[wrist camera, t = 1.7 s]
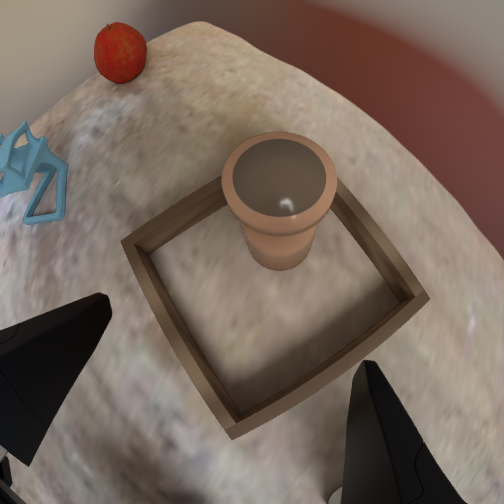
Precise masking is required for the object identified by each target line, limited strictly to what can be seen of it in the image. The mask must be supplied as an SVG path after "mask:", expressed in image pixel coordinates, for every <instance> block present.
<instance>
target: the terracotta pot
mask: <svg viewBox="0 0 504 504" xmlns="http://www.w3.org/2000/svg"><path fill="white" fill-rule="evenodd" d="M221 180H222V188H223V192H224V195H225V198H226V201H227V203H228V206H229V208H230V210H231V212H232V213H233V214H234V216H235V217H236V218H237V219H238V220H239V221H240V222H241V225H242V228H243V231H244V235H245V238H246V241H247V244H248V247H249V250H250V253H251V255H252V257H253V258H254V259H255V260H256V261H257V262H258V263H259V264H260V265H262V266H263V267H265V268H268V269H271V270H276V271H283V270H288V269H292V268H294V267H296V266H297V265H299V264H300V263H301V262H302V261H303V260H304V259H305V258H306V257H307V255H308V253H309V250H310V247H311V244H312V241H313V238H314V235H315V232H316V229H317V226H318V223H319V222H320V221H321V220H322V219H323V218H324V216H325V215H326V214H327V212H328V211H329V209H330V207H331V204H332V201H333V198H334V195H335V192H336V188H337V174H336V170H335V166H334V164H333V162H332V160H331V158H330V157H329V155H328V154H327V153H326V152H325V151H324V150H323V149H322V148H321V147H320V146H319V145H318V144H316V143H315V142H313V141H312V140H310V139H308V138H306V137H303V136H301V135H297V134H293V133H288V132H270V133H264V134H260V135H257V136H254V137H252V138H250V139H248V140H246V141H245V142H243V143H242V144H240V145H239V146H238V147H237V148H236V149H235V150H234V151H233V152H232V153H231V154H230V155H229V157H228V159H227V160H226V162H225V165H224V167H223V171H222V179H221Z"/></svg>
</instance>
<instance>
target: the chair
mask: <svg viewBox="0 0 504 504" xmlns="http://www.w3.org/2000/svg"><path fill="white" fill-rule="evenodd" d="M23 133H25V134H26V138H27V140H28V142H29V143H28V144H26V145H23V146H20V147H18V148H14V146H15V143H16V141H17V139H18V138H19V137H20V136H21V135H22V134H23ZM47 142H48V140H47V139H46V137H45V136H43V137H41V138H38V139H37V138H35V137H34V136H33V135H32V134H31V131H30V129H29V126H28V124H27V122H26V121H24V122H23V124H22V125H21V126H20V127H19V128H18V129H16V130H15V131H13V132H12V133H11V134H9V135H8V136H7V137H6V138H5V139H4V137H3V135H2V134H0V145H1V144H2V145H1V147H0V172H4V174H3V177H2V179H1V181H0V197H3V196H6V195H8V194H10V193H14V192H18V191H23V190H27V189H29V187H30V184H31V181H32V178H33V175H34V173H35V172H39V173H45V175H44V177H43V179H42V181H41V182H40V184H39V186H38V188H37V190H36V192H35V194H34V196H33V198H32V199H31V201H30V203H29V206H28V208H27V210H26V212H25V214H24V217H23V223H25V224H27V225H30V224H36V223H43V222H50V221H57V220H62V219H63V217H64V213H65V190H66V175H67V169H68V164H66V163H65V162H64V161H62V160H61V159H59V158H58V157H57V156H55V155H54V154H53V153H52V152H51V151H50V150H49V149H48V146H47ZM43 163H45V164H43ZM55 169H58V175H57V206H56V212H55V213H52V214H45V215H39V216H33V217H31V216H32V214H33V212H34V210H35V208H36V206H37V204H38V202H39V200H40V198H41V196H42V195H43V193H44V191H45V189H46V187H47V186H48V184H49V182H50V180H51V178H52V176H53V174H54V172H55Z"/></svg>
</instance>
